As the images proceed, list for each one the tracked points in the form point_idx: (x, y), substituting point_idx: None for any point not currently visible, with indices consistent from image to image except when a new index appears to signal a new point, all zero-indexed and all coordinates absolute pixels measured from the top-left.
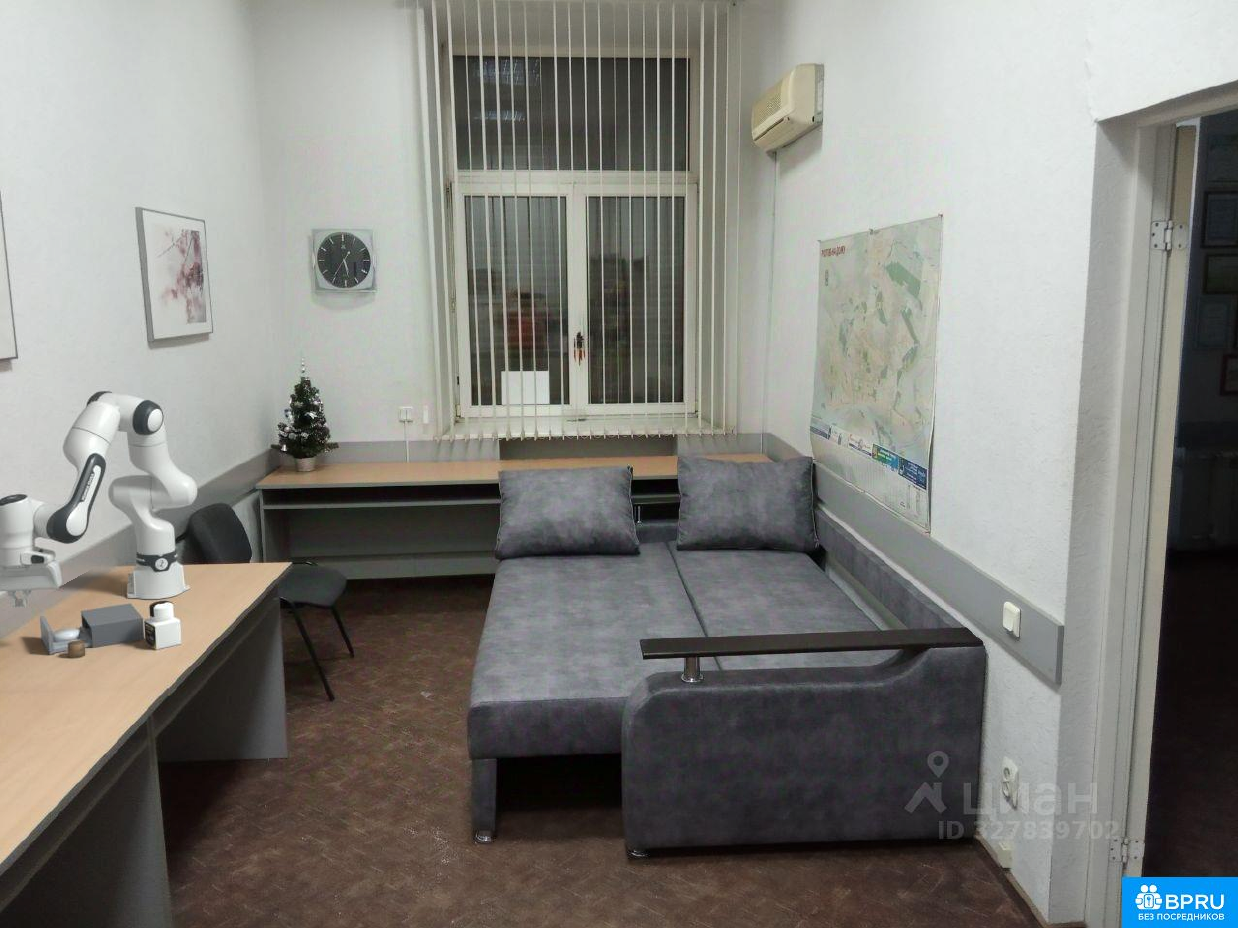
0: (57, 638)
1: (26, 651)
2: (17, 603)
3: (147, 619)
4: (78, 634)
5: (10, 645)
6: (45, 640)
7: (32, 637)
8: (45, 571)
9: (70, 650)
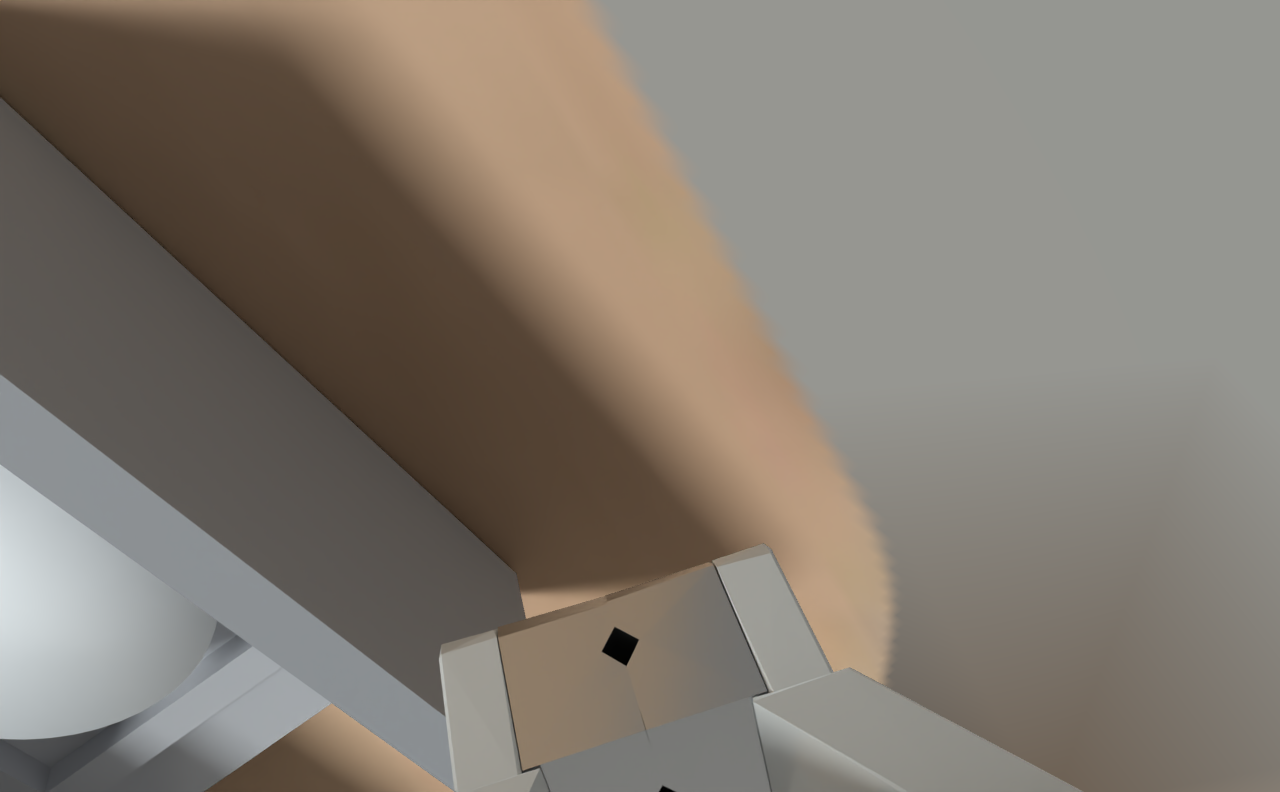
0: None
1: (414, 129)
2: (669, 637)
3: None
4: None
5: (761, 319)
6: (228, 364)
7: (640, 579)
8: None
9: None
